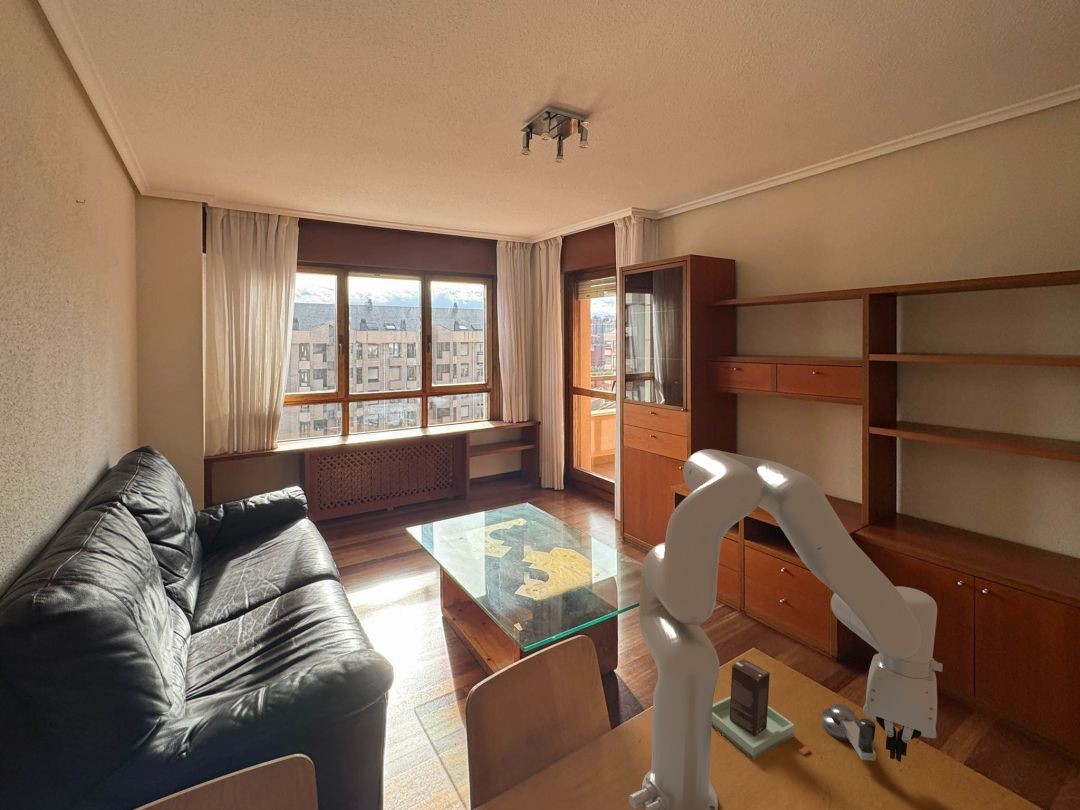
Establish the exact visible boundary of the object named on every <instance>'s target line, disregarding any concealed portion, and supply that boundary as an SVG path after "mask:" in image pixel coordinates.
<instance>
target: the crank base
mask: <svg viewBox="0 0 1080 810" xmlns="http://www.w3.org/2000/svg"><path fill="white" fill-rule="evenodd" d="M831 708H832V707H828V708H825V709H823V711H822V713H821V715H822V716H821V727H822V728H823V730H824V731H825V732H826V733H827V734H828V735H829V736H831V737H832V738H834V739H836V740H839V741H841V742H844V743H851V742H850V740H849V739H848V737H847V736H846V734H845V732H844V731H843V729H842V728H841V726H840V725H839V724H837V723H836V722H834V721H833V720H832V718H831ZM860 720H861V719H859V718H858V717H857V716H856V715H854V721H855V723H856V724H857V726H858V727H859V728H860ZM810 752H811V748H809V747H808V746H807V745H805V746H803V747H802V748H800V749H798V753H800V754H801V755H803V756H806V755H807V754H809V753H810Z"/></svg>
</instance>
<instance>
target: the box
mask: <svg viewBox="0 0 1080 810" xmlns="http://www.w3.org/2000/svg"><path fill="white" fill-rule="evenodd" d="M770 674H771V673H770V672H769V671H767V670H765V669H764V668H762V667H759V665H756V664H754V663H752V662H751V661H749V660H747V659H745V658H743V659H740V660H739V661H737V662H735V663H734V664H732V665H731V684H730V685H731V686H730V687H731V688H730V696H731V700H730V720H731V721H733V722H734V723H736V724H737V725H739V726H740V727H742V728H743V729H745V730H746V731H748V732H749V733H751V734H752V735H753V736H757V735H758V734H760V733H761V732H762V731H763V730H765V729H766V728H767V711H768V706H769V691H770V690H769V689H770Z"/></svg>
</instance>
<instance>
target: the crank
mask: <svg viewBox="0 0 1080 810" xmlns="http://www.w3.org/2000/svg"><path fill="white" fill-rule="evenodd" d="M830 708H831V718H832V720H833V721H834V722H836V723H837V724H839V725H840V726H841V728H842V729H843V731H844V732H845V734H846V736H847V737H848V739H849V740H850V742H851V745H852V746H853V748H854V750H855V751H856V753H857V755H858V756H859V758H860V759H861V760H863V761H874V762H876V759H877V753H876V752H875V750H874V749H875V748H874V747H875V739H876V729H877V728H876V725H877V724H876V723H875V722H874V721H872V720H871V719H870V718H860V719H859V720H860V728H859V727H858V726H857V724H856V723H855V721H854V715H855V712H854V711H853V709H851V707H848V706H847V705H843V704H841V703H839V704H838V703H834V704H833V705H831V707H830ZM855 716H856V715H855Z"/></svg>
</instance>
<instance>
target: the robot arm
mask: <svg viewBox="0 0 1080 810" xmlns="http://www.w3.org/2000/svg"><path fill="white" fill-rule="evenodd" d="M682 476H683V481H684V483H685V486H686V487H687V489H688V490H689V491H690V493H689V494H688V495H687V496H686V497H685V498H683V500H682V501H681V502H680V503H679V504H677V506H676V508H675V509H674V510H673V512H672V514H671V515H670V517H669V519H668V522H667V527H666V532H665V540H664V542H661V543H658V544H657V545H655V546H654V547H652V548H651V549H650V550H649V551H648V553H647V554H646V556H645V558H644V560H643V563H642V565H641V567H642V568H641V573H640V585H639V586H640V587H639V588H640V589H639V605H638V606H639V607H638V624H639V631H640V634H641V636H642V639H643V641H644V643H645V645H646V646H647V648H648V650H649V652H650V655H651V656H652V658H653V660H654V663H655V665H656V669H657V682H656V685H655V687H654V691H653V696H652V699H653V700H652V701H653V702H652V737H651V739H652V741H651V742H652V743H651V769H650V770H649V771H647V773H646V774H645V776H644V777H643V779H642V782H641V783H642V784H641V789H640V790H637V791H635V792H632V793H631V794H629V795H628V802H629V804H630V805H629V806H631V808H632V809H634V810H636V809H638V808H639V807H642V806H643V805H644V807H645V809H644V810H719V801H718V800H719V799H718V796H717V792H716V790H715V788H714V787H713V785H712V783H711V782H710V773H711V771H710V770H711V748H712V746H711V745H712V727H713V726H712V706H713V704H714V697H715V692H716V691H715V690H716V687H717V685H718V679H719V676H720V660H719V656H718V654H717V651H716V649H715V647H714V645H713V643H712V641H711V640H710V638H709V637H708V636H707V634H706V632H704V630H703V629H702V628H701V626H700V625H701V624H704V623H705V622H706V621H707V620H708V619H710V618H711V616H712V614H713V612H714V610H715V607H716V602H717V592H718V580H719V579H718V577H719V564H720V563H719V562H720V553H721V547H722V542H723V539H724V537H725V535H726V534H727V533H728V532H729V530H730V529H731V528H732V527H733V526H734V525H735V524H737V523H738V522H740V521H741V520H743V519H744V518H746V517H747V516H748V515H750V514H752V513H753V512H754V510H756V509H757V507H758V508H760V509H762V510H763V511H765V512H766V513H768V514H769V515H770V516H772V517H773V519H774V520H775V521H776V523H777V525H778V526H779V528H780V529H781V530H782V532H783V533H784V535H785V537H786V538H787V540H788V541H789V543H790V545H791V546H792V548H793V549H794V550H795V552H796V554H797V555H798V557H799V558H800V560H801V561H802V563H803V564H804V565H805V567H806V568H807V569H808V570H809V572H811V573H812V574H813V576H815V577H816V578H817V579H818V580H819V581H820V582H821V583H823V584H824V585H825V586H826V587H827V588H828V589H830V590H831V591H832V592H833V595H832V597H831V601H830V608H831V611H832V612H833V615H834V616H835V617H836V618H837V620H839V621H840V622H841V623H842V624H843V625H844V626H845V627H847V628H848V629H849V630H850V631H852V632H853V633H854V634H856V635H857V636H858V637H860V638H861V639H862V640H863V641H865V642H866V643H867V644H869V645H870V646H871V647H872V648H873V649H875V650H876V651H877V652H878V653H876V654H874V655H873V656H872V660H871V661H870V667H869V670H868V676H867V681H866V689H865V703H864V705H863V708H862V713H863V715H865V716H866V717H868V718H869V719H870V720H871V719H872V720H873V721H876V722H877V724H878V725H879V726H880V727H881V729H882V730H883V731H884V732H885V735H886V738H885V750H887V751H889V759H891V760H896V761H897V762H899V763H901V762H902V756H904V757H906V756H907V750H908V749H907V748H908V743H909V744H910V741H912V740H914V739H917V738H919V737H920V738H921V737H923V738H928V739H936V738H937V731H936V730H937V729H936V725H937V718H938V717H937V716H938V688H937V687H938V684H937V683H938V682H937V676H936V672H937V671H938V672H940V673H941V672H943V662H942V663H941V662H938V661H937V660H935V658H933V656H934V655H933V654H934V645H935V638H936V636H935V635H936V627H937V618H938V617H937V616H938V604H937V602H936V601H935V600H934V598H933V597H932V596H930V595H929V594H928V593H926V592H925V591H921V590H920V589H916V588H913V587H908V586H895V585H894V584H893V583H892V582H891V581H890V580H889V578H888V577H887V576H886V575H885V574H884V572H882V571H881V570H880V569H879V568H878V566H877V565H876V564H875V563H874V562H873V561H872V560H871V558H870V557H869V556H868V555H867V554H866V553H865V552H864V551H863V550H862V549H861V547H859V545H858V544H856V542H855V541H854V539H853V538H852V537H851V535H850V533H848V531H847V529H846V527H845V526H844V524H843V523H842V521H841V519H840V518H839V516H838V514H837V513H836V511H835V510H834V508H833V506H832V505H831V502H829V500H828V498H827V497H826V495H825V493H824V492H823V491H822V488H821V487H820V485H818V483H817V482H815V480H814V479H813V478H811V477H810V476H809V475H807V474H805V473H803V472H801V471H799V470H796V469H793V468H792V467H789V466H787V465H784V464H783V463H780V462H777V461H773V460H769V459H768V460H767V459H762V458H756V457H752V456H746V455H742V454H738V453H734V452H733V453H731V452H728V451H722V450H718V449H713V448H709V449H705V448H704V449H702V450H698V451H696V452H694V453H693V454H691V455H690V456H689V457H688V458H686V461H685V463H684V465H683V469H682ZM894 723H895V724H898V725H901V729H898V730H896V727H895V725H894Z"/></svg>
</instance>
